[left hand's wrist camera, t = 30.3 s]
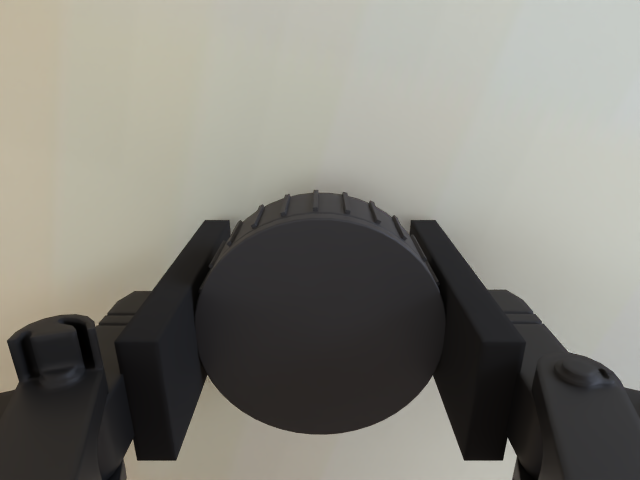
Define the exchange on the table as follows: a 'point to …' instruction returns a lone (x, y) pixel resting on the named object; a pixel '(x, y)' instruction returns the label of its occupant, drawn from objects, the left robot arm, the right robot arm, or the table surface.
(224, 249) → the lid
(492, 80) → the table surface
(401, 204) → the table surface
